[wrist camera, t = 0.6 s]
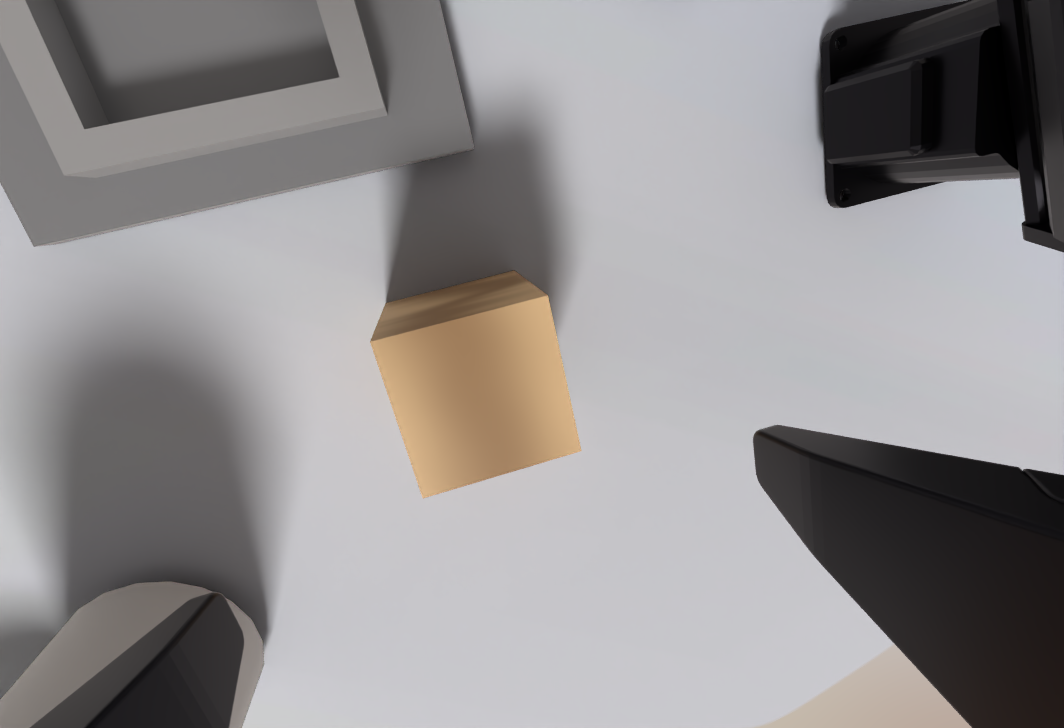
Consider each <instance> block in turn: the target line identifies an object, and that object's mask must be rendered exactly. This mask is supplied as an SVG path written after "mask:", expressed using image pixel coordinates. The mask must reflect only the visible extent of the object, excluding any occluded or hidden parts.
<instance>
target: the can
mask: <svg viewBox="0 0 1064 728" xmlns="http://www.w3.org/2000/svg"><path fill="white" fill-rule="evenodd" d="M211 592H212V591H210V590H207V589H205V588H203V587H197V586H192V585H187V584H182V583H177V582H171V581H169V582H148V583H135V584H132V585H128V586H125V587H122V588H118V589H115V590H112V591H108V592H105V593H103V594H101V595H100V596H98V597H97V598H95V599H94V600H92V601H90V602H89V603H87V604H86V605H84V606H83V607H81V608H80V609H78V610H77V611H76V612H75V613H74V615H73V616H72V617H71V618H70V619H69V620H68V622H67V623H66V624H65V625H64V626H63V627H62V629H61V630H60V631H59V632H58V633H57V634H56V635H55V637H54V638H53V639H52V640H51V641H50V642H49V644H48V645H47V646H46V647H45V648H44V649H43V651H42V652H41V653H40V654H39V655H38V656H37V658H36V659H35V660H34V661H33V662H32V663H31V665H30V666H29V667H28V668H27V669H26V670H25V672H24V673H23V674H22V675H21V676H20V677H19V679H18V680H17V681H16V682H15V683H14V684H13V686H12V687H11V688H10V689H9V690H8V691H7V693H6V694H5V695H4V696H3V697H2V698H1V700H0V728H30V727H31V726H32V725H33V724H34V723H36V722H37V721H38V720H39V719H41V718H42V717H43V716H44V715H46V714H47V713H48V712H49V711H51V710H52V709H53V708H54V707H56V706H57V705H58V704H59V703H61V702H62V701H63V700H64V699H66V698H67V697H68V696H69V695H71V694H72V693H73V692H74V691H76V690H77V689H78V688H79V687H81V686H82V685H83V684H84V683H86V682H87V681H88V680H89V679H91V678H92V677H93V676H94V675H96V674H97V673H98V672H99V671H101V670H102V669H103V668H104V667H106V666H107V665H108V664H109V663H111V662H112V661H113V660H114V659H116V658H117V657H118V656H119V655H121V654H122V653H123V652H124V651H126V650H127V649H128V648H129V647H131V646H132V645H133V644H134V643H136V642H137V641H138V640H139V639H140V638H142V637H143V636H144V635H145V634H147V633H148V632H149V631H150V630H152V629H153V628H154V627H155V626H157V625H158V624H159V623H160V622H162V621H163V620H164V619H165V618H167V617H168V616H169V615H170V614H172V613H173V612H174V611H175V610H177V609H178V608H179V607H180V606H182V605H183V604H184V603H185V602H187V601H188V600H190V599H192V598H195V597H198V596H201V595H205V594H208V593H211ZM226 600H227V602H228V604H229V605H230V607H231V609H232V611H233V613H234V615H235V617H236V619H237V621H238V623H239V625H240V627H241V629H242V631H243V635H244V650H243V656H242V661H241V666H240V672H239V677H238V683H237V688H236V694H235V699H234V705H233V710H232V716H231V721H230V727H229V728H242V726H243V723H244V720H245V717H246V714H247V712H248V709H249V706H250V703H251V700H252V697H253V695H254V692H255V689H256V686H257V683H258V680H259V677H260V675H261V672H262V669H263V666H264V653H263V641H262V639H261V637H260V635H259V633H258V631H257V629H256V627H255V625H254V623H253V621H252V619H251V618H249V617H248V616H247V615H246V614H245V613H244V612H243V611H242V610H241V609H240V608H239V607H237V606H236V605H235V604H234V603H233V602H232V601H230V600H228V599H226Z"/></svg>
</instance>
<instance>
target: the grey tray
mask: <svg viewBox="0 0 1064 728" xmlns="http://www.w3.org/2000/svg"><path fill="white" fill-rule="evenodd" d="M473 148H474V143H473V139H472V135H471V131H470V126H469V122H468V118H467V114H466V110H465V105H464V101H463V97H462V93H461V89H460V85H459V80H458V76H457V72H456V68H455V64H454V59H453V55H452V51H451V47H450V43H449V39H448V34H447V30H446V26H445V22H444V18H443V13H442V9H441V5H440V1H439V0H0V183H1V185H2V187H3V189H4V190H5V192H6V194H7V196H8V198H9V200H10V202H11V204H12V206H13V208H14V210H15V212H16V213H17V215H18V217H19V219H20V221H21V223H22V225H23V227H24V229H25V231H26V233H27V235H28V236H29V238H30V240H31V242H32V244H33V246H34V247H35V246H44V245H54V244H59V243H63V242H68V241H72V240H77V239H81V238H85V237H90V236H94V235H99V234H103V233H108V232H112V231H116V230H121V229H125V228H130V227H134V226H139V225H143V224H147V223H152V222H156V221H161V220H165V219H170V218H174V217H178V216H183V215H187V214H192V213H196V212H201V211H205V210H209V209H214V208H218V207H223V206H227V205H232V204H236V203H240V202H245V201H249V200H254V199H258V198H263V197H267V196H271V195H276V194H280V193H285V192H289V191H294V190H298V189H302V188H307V187H311V186H316V185H320V184H325V183H329V182H333V181H338V180H342V179H347V178H351V177H356V176H360V175H364V174H369V173H373V172H378V171H382V170H387V169H391V168H395V167H400V166H404V165H409V164H413V163H418V162H422V161H426V160H431V159H435V158H440V157H444V156H449V155H453V154H457V153H462V152H466V151H471V150H473Z"/></svg>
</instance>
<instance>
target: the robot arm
mask: <svg viewBox="0 0 1064 728" xmlns="http://www.w3.org/2000/svg"><path fill="white" fill-rule="evenodd" d="M836 39H837V40H838V41H839V49H838V50H837V49H836V47H835V41H836ZM822 74H823V101H824V127H825V154H826V181H827V200H828V203H829V204H830V206H832V207H834V208H846V207H850V206H854V205H858V204H861V203H865V202H869V201H873V200H877V199H881V198H885V197H888V196H892V195H896V194H900V193H904V192H908V191H912V190H915V189H919V188H923V187H927V186H931V185H935V184H938V183H942V182H947V181H970V180H992V179H1014V178H1020V185H1021V192H1022V200H1023V208H1024V215H1025V221H1024V222H1023V223H1022V231H1023V239H1024V240H1026V241H1029V242H1032V243H1035V244H1039V245H1042V246H1045V247H1048V248H1051V249H1055V250H1058V251H1061V252H1064V0H968V1H963V2H958V3H954V4H949V5H944V6H940V7H935V8H931V9H926V10H921V11H917V12H912V13H908V14H903V15H898V16H894V17H889V18H884V19H880V20H875V21H871V22H866V23H861V24H857V25H852V26H847V27H843V28H840V29H837V30H835V31H833V32H830V33H828V34H827V36H826V37H825V38H824V40H823V42H822ZM842 190H843V193H844V195H843V198H842V199H841V200H840V193H841V191H842ZM753 446H754V456H755V467H756V475H757V478H758V481H759V483H760V485H761V486H762V488H763V489H764V491H765V492H766V493H767V495H768V496H769V497H770V499H771V500H772V501H773V503H774V504H775V505H776V507H777V508H778V509H779V511H780V512H781V513H782V515H783V516H784V517H785V519H786V520H787V521H788V523H789V524H790V525H791V527H792V528H793V529H794V531H795V532H796V533H797V535H798V536H799V537H800V539H801V540H802V541H803V543H804V544H805V545H806V547H807V548H808V549H809V550H810V552H811V553H812V554H813V555H814V557H815V558H816V559H817V560H818V561H819V562H820V563H821V565H822V566H823V567H824V568H825V569H826V570H827V571H828V572H829V573H830V574H831V576H832V577H833V578H834V579H835V580H836V581H837V582H838V583H839V584H840V585H841V586H842V587H843V589H844V590H845V591H846V592H847V593H848V594H849V595H850V596H851V597H852V598H853V599H854V600H855V602H856V603H857V604H858V605H859V606H860V607H861V608H862V609H863V610H864V611H865V612H866V613H867V614H868V616H869V617H870V618H871V619H872V620H873V621H874V622H875V623H876V624H877V625H878V626H879V627H880V629H881V630H882V631H883V632H884V633H885V634H886V635H887V636H888V637H889V638H890V639H891V640H892V642H893V643H894V644H895V645H896V646H897V647H898V648H899V649H900V650H901V651H902V652H903V653H904V654H905V656H906V657H907V658H908V659H909V660H910V661H911V662H912V663H913V664H914V665H915V666H916V667H917V669H918V670H919V671H920V672H921V673H922V674H923V675H924V676H925V677H926V678H927V679H928V681H929V682H930V683H931V684H932V685H933V686H934V687H935V688H936V689H937V690H938V691H939V692H940V694H941V695H942V696H943V697H944V698H945V699H946V700H947V701H948V702H949V703H950V704H951V705H952V706H953V708H954V709H955V710H956V711H957V712H958V713H959V714H960V715H961V716H962V717H963V718H964V719H965V721H966V722H967V723H968V724H969V725H970V726H971V727H972V728H1064V475H1060V474H1054V473H1048V472H1043V471H1037V470H1032V469H1024V470H1023V471H1022V470H1021V469H1020V468H1018V467H1014V466H1008V465H1002V464H997V463H991V462H986V461H980V460H974V459H969V458H963V457H957V456H952V455H946V454H940V453H935V452H929V451H923V450H918V449H912V448H906V447H901V446H895V445H889V444H884V443H878V442H872V441H867V440H861V439H855V438H850V437H844V436H838V435H833V434H827V433H821V432H816V431H810V430H805V429H799V428H793V427H788V426H782V425H774V426H771V427H767V428H764V429H761V430H758V431H756V433H755V434H754V437H753ZM243 650H244V635H243V631H242V629H241V627H240V625H239V623H238V621H237V619H236V617H235V615H234V613H233V611H232V609H231V607H230V605H229V604H228V602H227V600H226V598H225V597H224V595H223V594H221V593H219V592H211V593H208V594H205V595H201V596H198V597H195V598H192V599H190V600H188V601H187V602H185V603H184V604H183V605H182V606H180V607H179V608H178V609H177V610H175V611H174V612H173V613H172V614H170V615H169V616H168V617H167V618H165V619H164V620H163V621H162V622H160V623H159V624H158V625H157V626H155V627H154V628H153V629H152V630H150V631H149V632H148V633H147V634H145V635H144V636H143V637H142V638H140V639H139V640H138V641H137V642H136V643H134V644H133V645H132V646H131V647H129V648H128V649H127V650H126V651H124V652H123V653H122V654H121V655H119V656H118V657H117V658H116V659H114V660H113V661H112V662H111V663H109V664H108V665H107V666H106V667H104V668H103V669H102V670H101V671H99V672H98V673H97V674H96V675H94V676H93V677H92V678H91V679H89V680H88V681H87V682H86V683H84V684H83V685H82V686H81V687H79V688H78V689H77V690H76V691H74V692H73V693H72V694H71V695H69V696H68V697H67V698H66V699H64V700H63V701H62V702H61V703H59V704H58V705H57V706H56V707H54V708H53V709H52V710H51V711H49V712H48V713H47V714H46V715H44V716H43V717H42V718H41V719H39V720H38V721H37V722H36V723H34V724H33V725H32V726H31V727H30V728H229V727H230V721H231V716H232V710H233V705H234V699H235V694H236V688H237V683H238V677H239V672H240V666H241V661H242V656H243Z"/></svg>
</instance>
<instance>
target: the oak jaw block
mask: <svg viewBox="0 0 1064 728" xmlns="http://www.w3.org/2000/svg"><path fill="white" fill-rule="evenodd" d="M370 343H371V346H372V349H373V352H374V355H375V358H376V361H377V364H378V367H379V370H380V373H381V376H382V378H383V381H384V384H385V387H386V390H387V393H388V396H389V399H390V402H391V405H392V408H393V411H394V414H395V417H396V420H397V423H398V426H399V429H400V432H401V435H402V438H403V441H404V444H405V447H406V450H407V453H408V456H409V459H410V462H411V465H412V468H413V471H414V474H415V476H416V479H417V482H418V485H419V488H420V491H421V494H422V497H423V498H426V497H429V496H432V495H436V494H439V493H442V492H446V491H449V490H453V489H456V488H459V487H463V486H466V485H469V484H473V483H476V482H479V481H483V480H486V479H489V478H493V477H496V476H499V475H503V474H506V473H509V472H513V471H516V470H519V469H523V468H526V467H529V466H533V465H536V464H539V463H543V462H546V461H549V460H553V459H556V458H559V457H563V456H566V455H570V454H573V453H576V452H580V451H581V447H580V442H579V438H578V433H577V428H576V424H575V419H574V414H573V410H572V405H571V401H570V396H569V391H568V387H567V382H566V377H565V373H564V368H563V363H562V359H561V354H560V349H559V345H558V340H557V335H556V331H555V326H554V321H553V317H552V312H551V308H550V303H549V298H548V295H547V294H545V293H544V292H543V291H541V290H540V289H539V288H537V287H536V286H535V285H533V284H532V283H531V282H529V281H528V280H526V279H525V278H524V277H522V276H521V275H520V274H518V273H517V272H516V271H510V272H506V273H502V274H498V275H494V276H490V277H486V278H482V279H478V280H474V281H471V282H467V283H463V284H459V285H455V286H451V287H447V288H443V289H439V290H435V291H431V292H427V293H423V294H419V295H416V296H412V297H408V298H404V299H400V300H396V301H392V302H388V303H386V304H385V306H384V309H383V311H382V314H381V316H380V319H379V321H378V324H377V326H376V329H375V331H374V334H373V336H372V339H371V341H370Z"/></svg>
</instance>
